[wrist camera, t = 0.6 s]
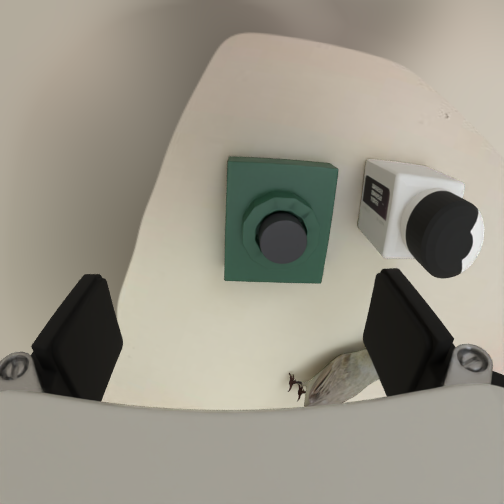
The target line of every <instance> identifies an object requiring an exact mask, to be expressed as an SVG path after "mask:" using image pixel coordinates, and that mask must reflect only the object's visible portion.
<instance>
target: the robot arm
mask: <svg viewBox="0 0 504 504" xmlns="http://www.w3.org/2000/svg"><path fill="white" fill-rule="evenodd" d="M453 340H454V338H453V337H452V335H451V334H450V333H449V331H448V330H447V329H446V327H445V326H444V325H443V323H442V322H441V321H440V319H439V318H438V317H437V315H436V314H435V313H434V312H433V310H432V309H431V308H430V307H429V305H428V304H427V303H426V301H425V300H424V299H423V298H422V296H421V295H420V294H419V293H418V291H417V290H416V289H415V288H414V287H413V285H412V284H411V283H410V282H409V281H408V279H407V278H406V277H405V276H404V275H403V273H402V272H401V271H400V270H399V269H398V268H393V269H382V270H381V272H380V273H378V274H377V275H376V278H375V283H374V288H373V293H372V298H371V303H370V307H369V312H368V316H367V321H366V325H365V329H364V333H363V342H364V345H365V347H366V349H367V351H368V354H369V356H370V358H371V360H372V363H373V365H374V367H375V370H376V372H377V374H378V377H379V379H380V381H381V384H382V386H383V388H384V391H385V393H386V395H387V397H382V398H375V399H369V400H362V401H355V402H347V403H339V404H330V405H321V406H310V407H297V408H281V409H259V410H196V409H173V408H158V407H145V406H134V405H125V404H116V403H108V402H101V401H102V398H103V395H104V393H105V390H106V387H107V385H108V382H109V380H110V377H111V374H112V372H113V369H114V367H115V364H116V362H117V359H118V357H119V354H120V352H121V350H122V346H123V339H122V336H121V332H120V329H119V325H118V322H117V318H116V315H115V311H114V308H113V304H112V300H111V296H110V292H109V288H108V285H107V281H106V279H104V278H102V277H101V275H100V274H85V275H84V276H83V277H82V278H81V279H80V281H79V282H78V283H77V284H76V286H75V287H74V288H73V289H72V291H71V292H70V293H69V295H68V296H67V297H66V299H65V300H64V301H63V303H62V304H61V305H60V307H59V308H58V309H57V311H56V312H55V313H54V315H53V316H52V317H51V319H50V320H49V321H48V323H47V324H46V326H45V327H44V329H43V330H42V331H41V333H40V334H39V336H38V337H37V338H36V340H35V341H34V343H33V344H32V349H33V353H32V354H31V355H29V354H28V353H25V352H15V353H11V354H9V355H8V356H6V357H5V358H3V359H2V360H1V361H0V504H504V375H502V374H499V373H497V372H494V371H492V369H493V363H492V359H491V357H490V356H489V354H488V353H487V352H486V351H485V350H483V349H482V348H480V347H478V346H476V345H472V344H462V345H459V346H457V347H455V346H454V344H453Z"/></svg>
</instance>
